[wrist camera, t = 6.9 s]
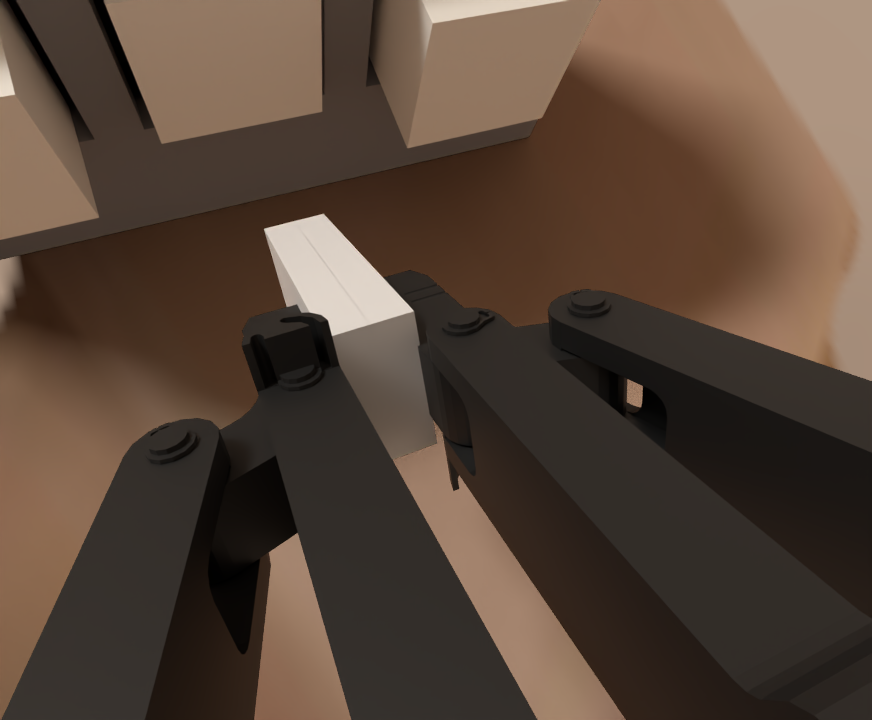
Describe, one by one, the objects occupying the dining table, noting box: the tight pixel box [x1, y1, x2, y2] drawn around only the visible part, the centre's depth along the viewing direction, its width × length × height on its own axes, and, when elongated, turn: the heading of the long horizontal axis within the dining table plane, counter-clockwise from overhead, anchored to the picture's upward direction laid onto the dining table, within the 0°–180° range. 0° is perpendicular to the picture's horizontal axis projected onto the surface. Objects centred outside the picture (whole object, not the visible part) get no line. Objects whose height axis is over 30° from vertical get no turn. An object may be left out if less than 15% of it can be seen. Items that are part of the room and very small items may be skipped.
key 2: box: [369, 0, 601, 148], centre depth 19 cm, size 4×5×5 cm
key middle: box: [104, 0, 322, 144], centre depth 18 cm, size 4×5×5 cm
